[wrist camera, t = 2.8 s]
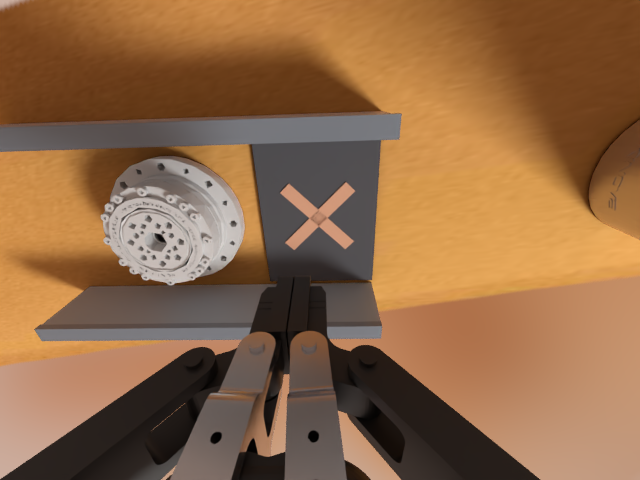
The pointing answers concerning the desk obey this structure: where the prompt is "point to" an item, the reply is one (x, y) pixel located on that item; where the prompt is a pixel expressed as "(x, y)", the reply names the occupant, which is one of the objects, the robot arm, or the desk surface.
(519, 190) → the desk surface
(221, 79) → the desk surface
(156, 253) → the mechanical component
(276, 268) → the pad
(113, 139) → the plastic channel
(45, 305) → the desk surface
